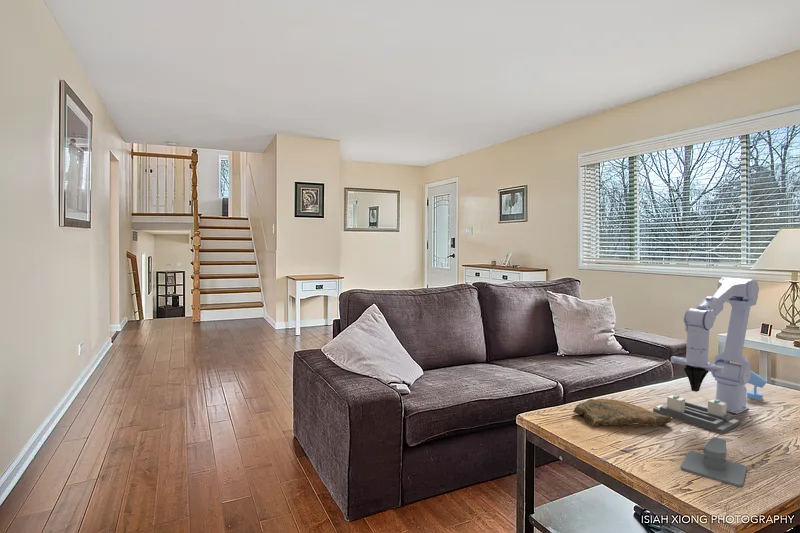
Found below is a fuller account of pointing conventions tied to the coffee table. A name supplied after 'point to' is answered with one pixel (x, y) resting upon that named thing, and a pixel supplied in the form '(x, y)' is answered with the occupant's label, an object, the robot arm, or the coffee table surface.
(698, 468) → the shower valve
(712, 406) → the tab
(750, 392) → the spotlight
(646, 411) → the rock
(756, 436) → the coffee table surface
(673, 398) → the tab
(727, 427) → the switch bank
